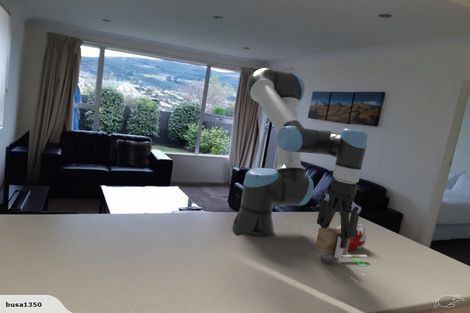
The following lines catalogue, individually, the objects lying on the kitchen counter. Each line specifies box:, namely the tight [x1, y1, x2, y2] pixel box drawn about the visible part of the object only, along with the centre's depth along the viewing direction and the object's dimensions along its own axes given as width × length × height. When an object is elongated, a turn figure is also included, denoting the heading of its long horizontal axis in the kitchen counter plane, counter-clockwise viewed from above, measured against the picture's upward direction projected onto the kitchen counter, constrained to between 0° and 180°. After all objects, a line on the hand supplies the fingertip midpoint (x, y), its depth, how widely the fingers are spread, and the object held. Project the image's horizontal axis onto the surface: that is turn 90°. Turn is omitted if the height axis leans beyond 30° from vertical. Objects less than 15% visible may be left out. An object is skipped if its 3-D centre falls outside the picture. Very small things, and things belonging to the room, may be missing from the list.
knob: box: [314, 227, 369, 266], centre depth 106 cm, size 18×5×10 cm, turn 108°
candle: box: [336, 223, 367, 251], centre depth 121 cm, size 9×11×15 cm
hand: (330, 252), depth 105 cm, fingers closed on knob, 5 cm apart
